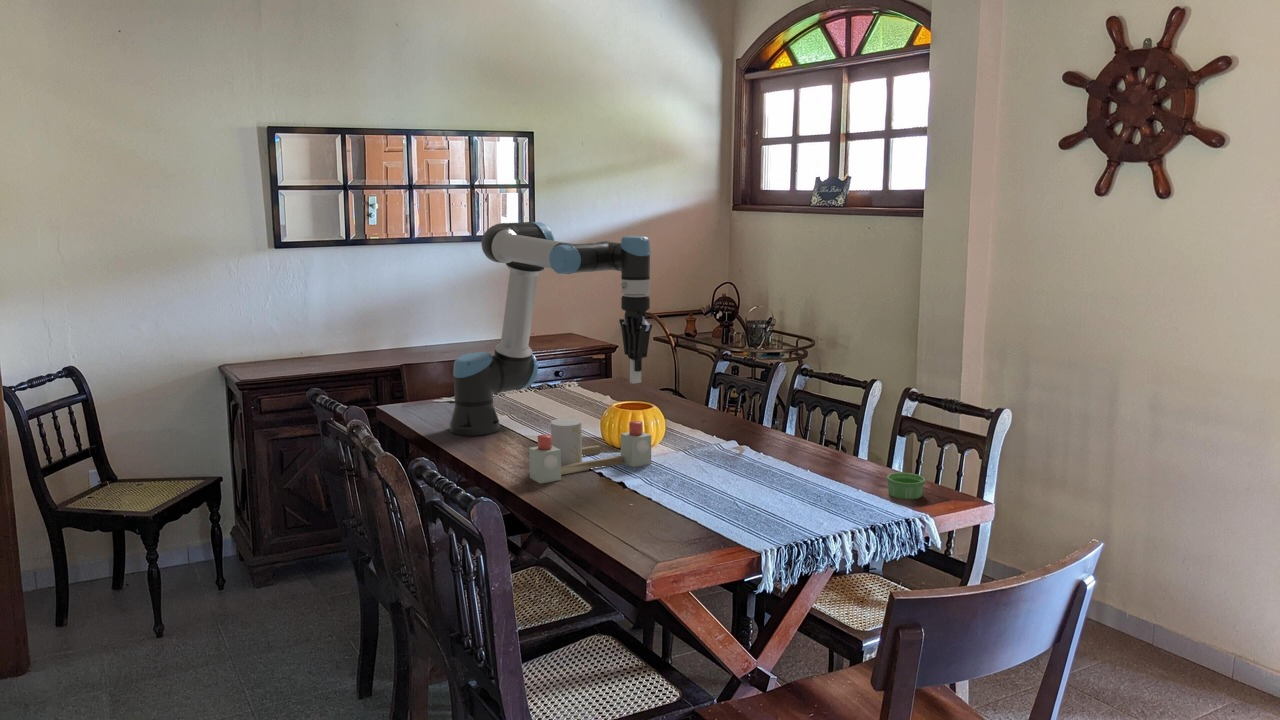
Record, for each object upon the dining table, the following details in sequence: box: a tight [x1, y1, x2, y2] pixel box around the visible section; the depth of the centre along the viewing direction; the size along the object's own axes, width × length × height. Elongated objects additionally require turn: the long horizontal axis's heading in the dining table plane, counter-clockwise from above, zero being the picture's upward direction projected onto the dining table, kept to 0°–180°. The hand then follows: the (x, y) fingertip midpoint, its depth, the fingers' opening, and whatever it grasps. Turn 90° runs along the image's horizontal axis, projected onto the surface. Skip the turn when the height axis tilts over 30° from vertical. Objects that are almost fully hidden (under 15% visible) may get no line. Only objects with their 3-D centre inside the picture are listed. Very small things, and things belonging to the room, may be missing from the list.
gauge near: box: [537, 434, 552, 450], centre depth 257 cm, size 4×4×3 cm
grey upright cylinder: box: [550, 417, 583, 465], centre depth 270 cm, size 8×8×12 cm
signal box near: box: [528, 445, 562, 484], centre depth 258 cm, size 6×6×8 cm
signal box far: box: [620, 431, 652, 468], centre depth 272 cm, size 6×6×8 cm
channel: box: [561, 445, 624, 476], centre depth 273 cm, size 14×19×2 cm
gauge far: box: [628, 420, 644, 435], centre depth 271 cm, size 4×4×3 cm
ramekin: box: [886, 471, 926, 500], centre depth 245 cm, size 9×9×4 cm
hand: (635, 382), depth 269 cm, fingers closed
